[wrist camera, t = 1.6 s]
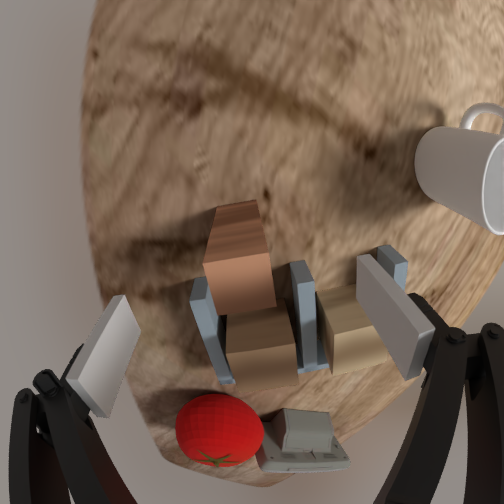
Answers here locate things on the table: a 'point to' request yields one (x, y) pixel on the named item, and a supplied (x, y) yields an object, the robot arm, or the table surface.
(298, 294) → the lane shelf
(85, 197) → the table surface
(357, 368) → the oak block
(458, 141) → the cup
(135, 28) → the table surface
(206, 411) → the tomato
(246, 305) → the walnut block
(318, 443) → the digital clock
